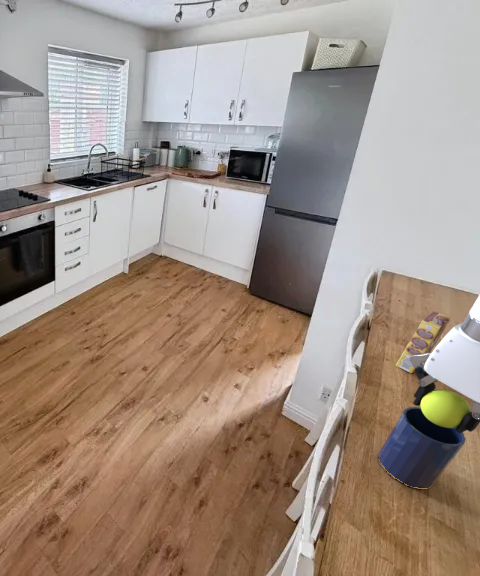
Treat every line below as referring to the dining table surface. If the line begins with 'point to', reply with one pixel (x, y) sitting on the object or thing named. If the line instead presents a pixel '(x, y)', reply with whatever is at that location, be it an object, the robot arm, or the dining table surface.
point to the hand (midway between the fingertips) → (440, 415)
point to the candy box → (423, 339)
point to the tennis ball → (444, 408)
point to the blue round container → (419, 449)
